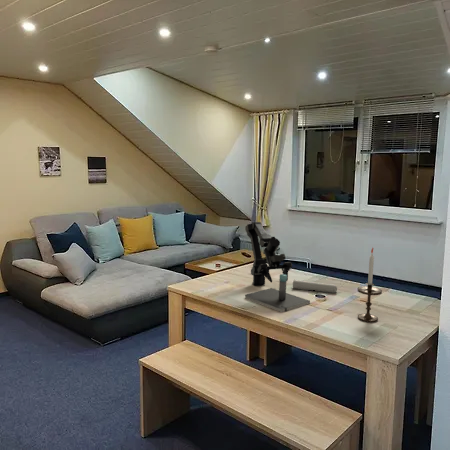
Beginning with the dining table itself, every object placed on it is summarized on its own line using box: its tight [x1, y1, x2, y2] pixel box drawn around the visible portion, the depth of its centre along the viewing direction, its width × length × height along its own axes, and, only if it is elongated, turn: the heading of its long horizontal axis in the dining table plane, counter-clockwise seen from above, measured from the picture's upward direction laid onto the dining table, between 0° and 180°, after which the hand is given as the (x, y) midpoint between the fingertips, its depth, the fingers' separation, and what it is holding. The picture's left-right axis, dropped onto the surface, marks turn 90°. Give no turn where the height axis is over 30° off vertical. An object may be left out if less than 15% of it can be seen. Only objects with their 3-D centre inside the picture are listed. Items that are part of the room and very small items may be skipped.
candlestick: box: [356, 247, 383, 323], centre depth 197 cm, size 11×11×35 cm
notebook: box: [244, 287, 311, 313], centre depth 224 cm, size 22×2×28 cm
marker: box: [278, 273, 288, 300], centre depth 220 cm, size 4×4×13 cm
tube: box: [292, 279, 338, 294], centre depth 243 cm, size 5×5×25 cm
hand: (279, 281), depth 224 cm, fingers open, 9 cm apart
